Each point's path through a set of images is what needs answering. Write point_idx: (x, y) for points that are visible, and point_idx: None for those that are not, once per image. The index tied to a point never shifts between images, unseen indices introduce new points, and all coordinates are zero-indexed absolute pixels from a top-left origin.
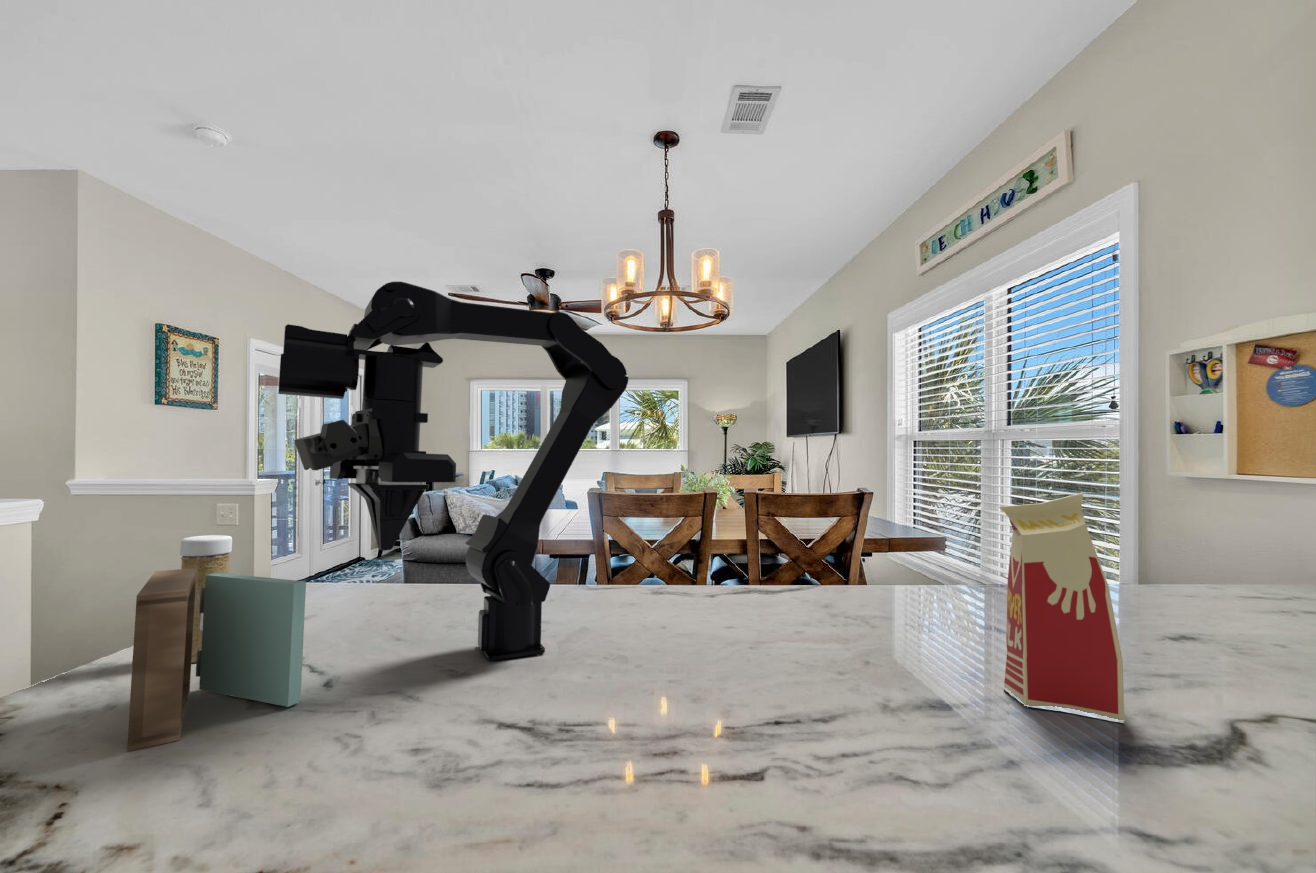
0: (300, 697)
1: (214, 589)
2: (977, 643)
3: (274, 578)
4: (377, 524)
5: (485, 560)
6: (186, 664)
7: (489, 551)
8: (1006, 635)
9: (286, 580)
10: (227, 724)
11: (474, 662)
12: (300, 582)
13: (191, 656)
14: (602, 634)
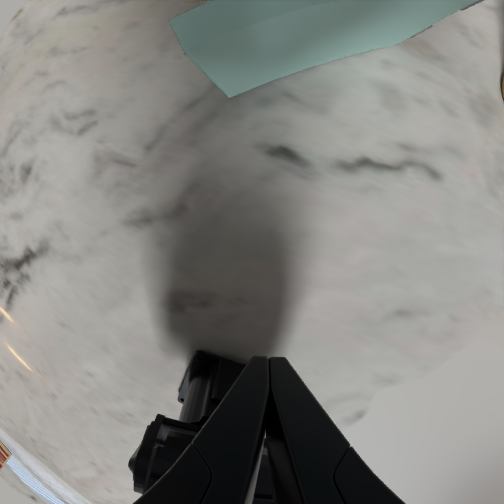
0: (228, 97)
1: None
2: (51, 487)
3: (322, 2)
4: (249, 426)
5: (151, 462)
6: None
7: (147, 480)
8: (1, 466)
9: (254, 14)
10: None
11: (212, 337)
12: (181, 38)
13: None
14: None
